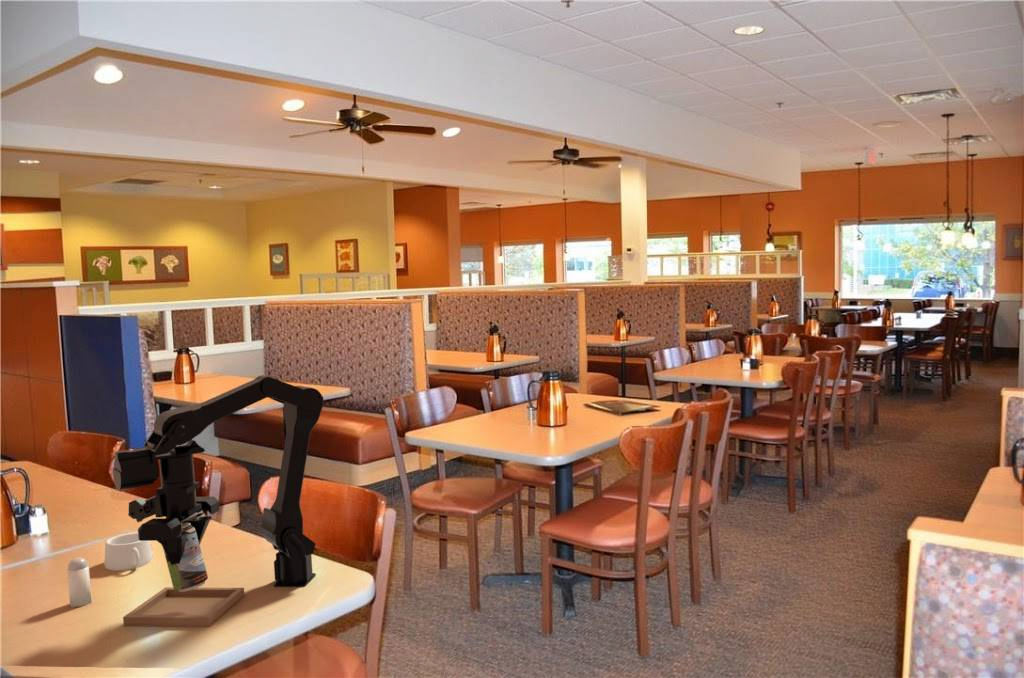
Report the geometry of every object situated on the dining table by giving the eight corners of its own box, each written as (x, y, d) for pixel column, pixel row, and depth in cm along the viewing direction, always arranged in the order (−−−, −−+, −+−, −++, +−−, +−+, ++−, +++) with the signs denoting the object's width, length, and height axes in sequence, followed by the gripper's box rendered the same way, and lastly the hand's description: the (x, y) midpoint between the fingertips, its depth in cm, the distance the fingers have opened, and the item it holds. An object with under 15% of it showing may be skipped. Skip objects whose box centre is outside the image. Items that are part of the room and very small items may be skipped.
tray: (244, 595, 155) (244, 587, 155) (209, 626, 141) (208, 617, 141) (165, 595, 157) (165, 587, 157) (123, 625, 143) (123, 617, 143)
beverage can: (197, 595, 145) (188, 529, 144) (160, 596, 146) (151, 531, 145) (216, 581, 151) (207, 518, 150) (180, 582, 152) (172, 520, 151)
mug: (99, 566, 176) (97, 539, 176) (145, 555, 183) (144, 529, 182) (114, 579, 167) (112, 551, 167) (163, 567, 173) (161, 540, 173)
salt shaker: (95, 599, 156) (92, 554, 156) (83, 607, 153) (80, 561, 152) (78, 599, 157) (74, 554, 156) (65, 606, 153) (62, 561, 152)
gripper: (163, 468, 158) (169, 546, 159) (105, 494, 139) (112, 582, 140) (218, 467, 156) (223, 546, 157) (166, 493, 138) (173, 582, 139)
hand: (184, 563), depth 149 cm, fingers closed on beverage can, 5 cm apart
